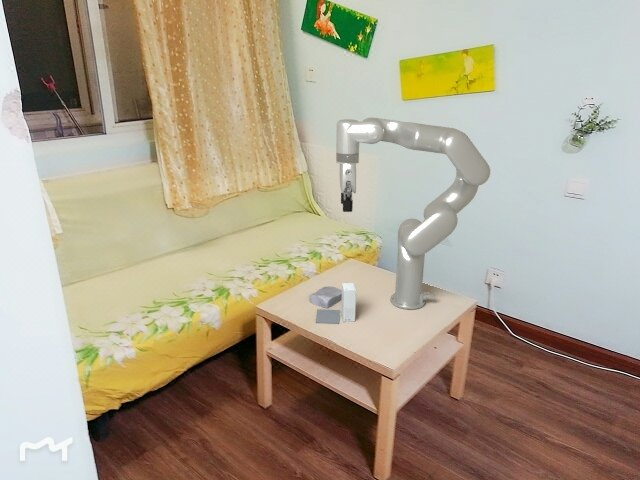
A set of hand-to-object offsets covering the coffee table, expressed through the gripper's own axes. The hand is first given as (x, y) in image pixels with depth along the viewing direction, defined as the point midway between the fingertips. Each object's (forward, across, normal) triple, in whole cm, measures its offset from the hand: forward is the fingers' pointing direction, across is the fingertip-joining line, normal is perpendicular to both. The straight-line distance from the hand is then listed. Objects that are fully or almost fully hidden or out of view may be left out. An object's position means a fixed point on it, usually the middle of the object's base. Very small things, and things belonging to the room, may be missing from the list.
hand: (346, 207), depth 160 cm
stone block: (+37, +1, +7) cm, 37 cm away
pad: (+36, -12, +7) cm, 39 cm away
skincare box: (+36, -12, 0) cm, 38 cm away
